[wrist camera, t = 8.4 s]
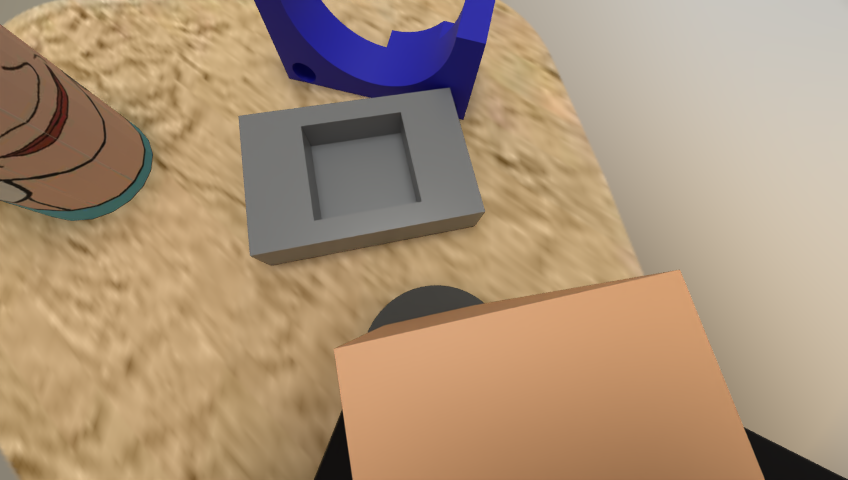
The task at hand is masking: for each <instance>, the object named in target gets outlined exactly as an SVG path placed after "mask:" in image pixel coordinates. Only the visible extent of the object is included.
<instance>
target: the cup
mask: <svg viewBox="0 0 848 480" xmlns="http://www.w3.org/2000/svg"><path fill="white" fill-rule="evenodd" d="M152 156H153V154H152V150H151V147H150V144H149V140H148V139H147V138H146V137H145V135H144V134H143V133H142V132H141V130H140V129H139V128H137V127H136V126H135V125H133V124H132V123H131V122H129V121H128V120H127V119H125V118H124V117H123V116H121V115H120V114H119V113H118V112H116V111H115V110H114V109H112V108H111V107H110V106H108V105H107V104H106V103H104V102H103V101H102V100H100V99H99V98H98V97H96V96H95V95H94V94H92V93H91V92H90V91H88V90H87V89H86V88H84V87H83V86H82V85H80V84H79V83H78V82H76V81H75V80H74V79H72V78H71V77H70V76H68V75H67V74H66V73H64V72H63V71H62V70H60V69H59V68H58V67H56V66H55V65H54V64H52V63H51V62H50V61H48V60H47V59H46V58H44V57H43V56H42V55H40V54H39V53H38V52H36V51H35V50H34V49H33V48H31V47H30V46H29V45H27V44H26V43H25V42H23V41H22V40H21V39H19V38H18V37H17V36H15V35H14V34H13V33H11V32H10V31H9V30H7V29H6V28H5V27H3V26H2V25H1V24H0V201H3V202H7V203H10V204H13V205H16V206H19V207H23V208H26V209H29V210H32V211H35V212H39V213H42V214H45V215H48V216H51V217H55V218H60V219H65V220H70V221H75V220H86V219H94V218H97V217H99V216H102V215H105V214H108V213H111V212H113V211H115V210H116V209H118V208H119V207H121V206H122V205H124V204H125V203H127V202H128V201H130V200H131V199H132V198H133V197H134V196H135V194H136V193H137V192H138V191H139V190H140V189H141V188H142V187H143V185H144V183H145V181H146V179H147V177H148V175H149V173H150V171H151V165H152Z"/></svg>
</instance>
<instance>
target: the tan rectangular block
mask: <svg viewBox="0 0 848 480" xmlns="http://www.w3.org/2000/svg"><path fill="white" fill-rule="evenodd" d="M334 353H335V360H336V367H337V374H338V381H339V388H340V395H341V402H342V409H343V416H344V423H345V430H346V436H347V443H348V450H349V457H350V464H351V471H352V478H353V480H765V479H764V476H763V474H762V471H761V469H760V467H759V464H758V462H757V459H756V457H755V454H754V452H753V449H752V447H751V444H750V442H749V439H748V437H747V434H746V432H745V429H744V427H743V424H742V422H741V420H740V417H739V415H738V412H737V410H736V407H735V405H734V402H733V400H732V398H731V395H730V392H729V390H728V387H727V385H726V383H725V380H724V378H723V375H722V373H721V370H720V368H719V365H718V363H717V360H716V358H715V355H714V353H713V350H712V348H711V345H710V343H709V340H708V338H707V336H706V333H705V331H704V328H703V326H702V323H701V321H700V318H699V316H698V313H697V311H696V308H695V306H694V303H693V301H692V298H691V296H690V293H689V291H688V289H687V286H686V284H685V281H684V279H683V276H682V274H681V271H680V270H675V271H670V272H664V273H658V274H653V275H646V276H640V277H635V278H629V279H623V280H617V281H612V282H606V283H600V284H594V285H588V286H583V287H577V288H571V289H565V290H560V291H554V292H548V293H542V294H536V295H531V296H525V297H519V298H513V299H507V300H502V301H496V302H490V303H484V304H479V305H473V306H469V307H464V308H460V309H455V310H451V311H446V312H442V313H437V314H433V315H428V316H424V317H419V318H415V319H411V320H406V321H402V322H397V323H393V324H388V325H384V326H382V327H380V328H377V329H375V330H373V331H371V332H369V333H367V334H365V335H362V336H360V337H358V338H356V339H354V340H352V341H350V342H347V343H345V344H343V345H341V346H339V347H337V348H335V349H334Z"/></svg>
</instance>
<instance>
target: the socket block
mask: <svg viewBox="0 0 848 480" xmlns="http://www.w3.org/2000/svg"><path fill="white" fill-rule="evenodd" d="M239 128H240V140H241V152H242V164H243V177H244V189H245V201H246V213H247V225H248V238H249V250H250V256H251V257H254V258H256V259H258V260H260V261H262V262H264V263H266V264H269V265H276V264H281V263H286V262H291V261H297V260H302V259H307V258H312V257H317V256H322V255H328V254H333V253H338V252H343V251H348V250H354V249H359V248H364V247H369V246H374V245H379V244H385V243H390V242H395V241H400V240H405V239H410V238H416V237H421V236H426V235H431V234H436V233H441V232H447V231H452V230H457V229H462V228H467V227H473V226H475V225H476V223H477V222H478V221H479V219H480V218H481V217H482V215H483V214H484V212H485V209H484V206H483V202H482V199H481V195H480V192H479V188H478V185H477V181H476V178H475V174H474V171H473V167H472V164H471V160H470V157H469V153H468V150H467V146H466V143H465V139H464V136H463V132H462V129H461V125H460V122H459V118H458V115H457V111H456V108H455V104H454V101H453V97H452V94H451V90H450V88H443V89H435V90H428V91H420V92H413V93H405V94H398V95H391V96H383V97H376V98H368V99H361V100H353V101H346V102H339V103H331V104H324V105H316V106H309V107H302V108H294V109H287V110H279V111H272V112H264V113H257V114H250V115H242V116H239Z"/></svg>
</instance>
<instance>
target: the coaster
mask: <svg viewBox="0 0 848 480" xmlns="http://www.w3.org/2000/svg"><path fill="white" fill-rule="evenodd" d="M479 304H484V303H483V302H482V301H481V300H479V299H478V298H477V297H475V296H473V295H471V294H470V293H468V292H465V291H463V290H460V289H457V288H453V287H449V286H425V287H420V288H416V289H413V290H410V291H408V292H406V293H403V294H402V295H400V296H398V297H397V298H395V299H394V300H393V301H391V302H390V303H389V304H388V305H387V306H386V307H385V308H384V309H383V310H382V311H381V312H380V313H379V314H378V316H377V317H376V318H375V320H374V321H373V323H372V325H371V327H370V328H369V330H368V333H369V332H371V331H373V330H375V329H377V328H380V327H382V326H384V325H388V324H393V323H397V322H402V321H406V320H411V319H415V318H419V317H424V316H428V315H433V314H437V313H442V312H446V311H451V310H455V309H460V308H464V307H469V306H473V305H479Z"/></svg>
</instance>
